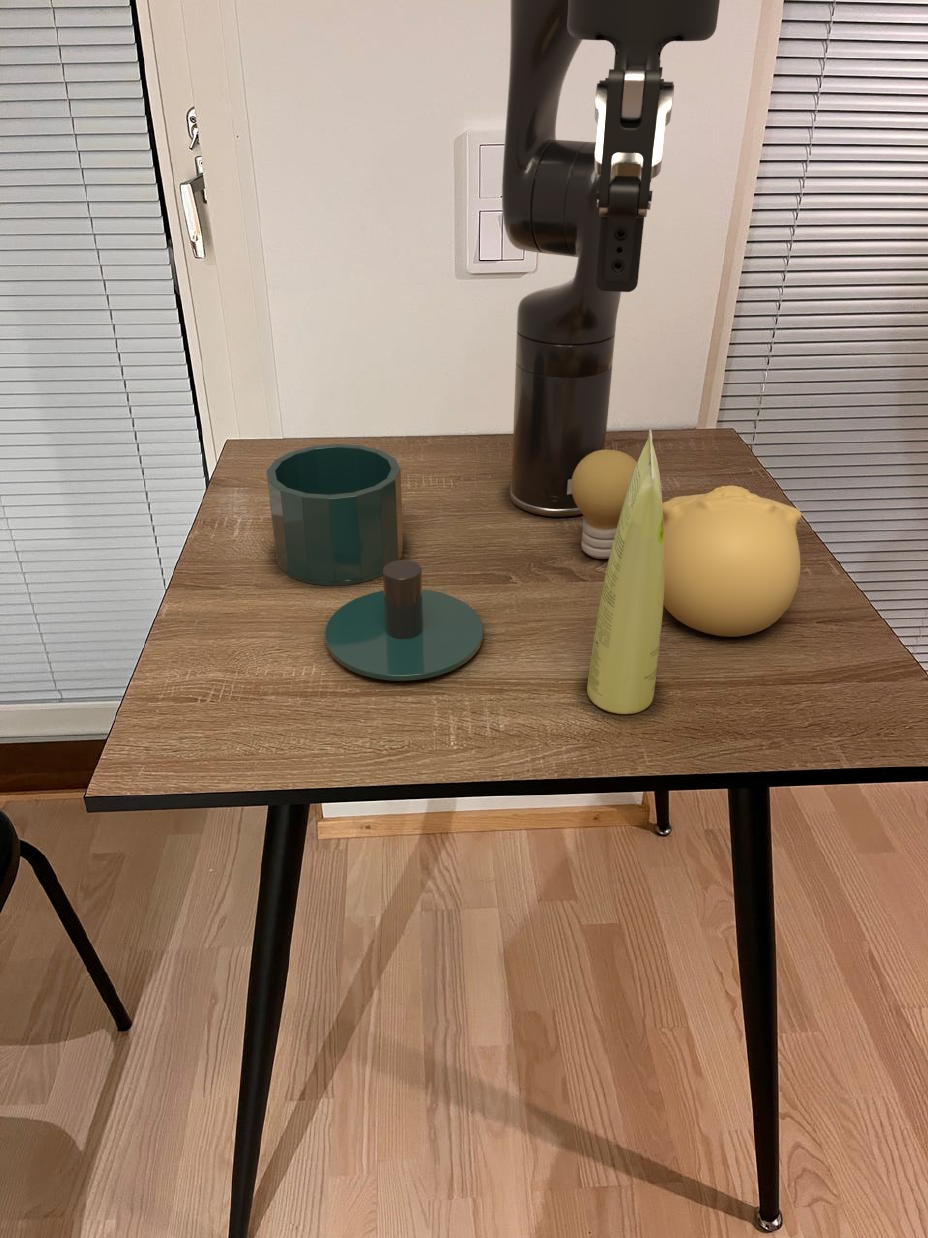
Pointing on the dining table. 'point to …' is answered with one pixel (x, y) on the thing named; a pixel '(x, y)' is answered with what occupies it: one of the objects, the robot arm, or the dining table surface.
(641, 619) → the tube
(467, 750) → the dining table surface
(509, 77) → the robot arm
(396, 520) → the pot
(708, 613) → the sculpture
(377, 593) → the pot lid
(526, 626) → the dining table surface
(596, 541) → the light bulb
